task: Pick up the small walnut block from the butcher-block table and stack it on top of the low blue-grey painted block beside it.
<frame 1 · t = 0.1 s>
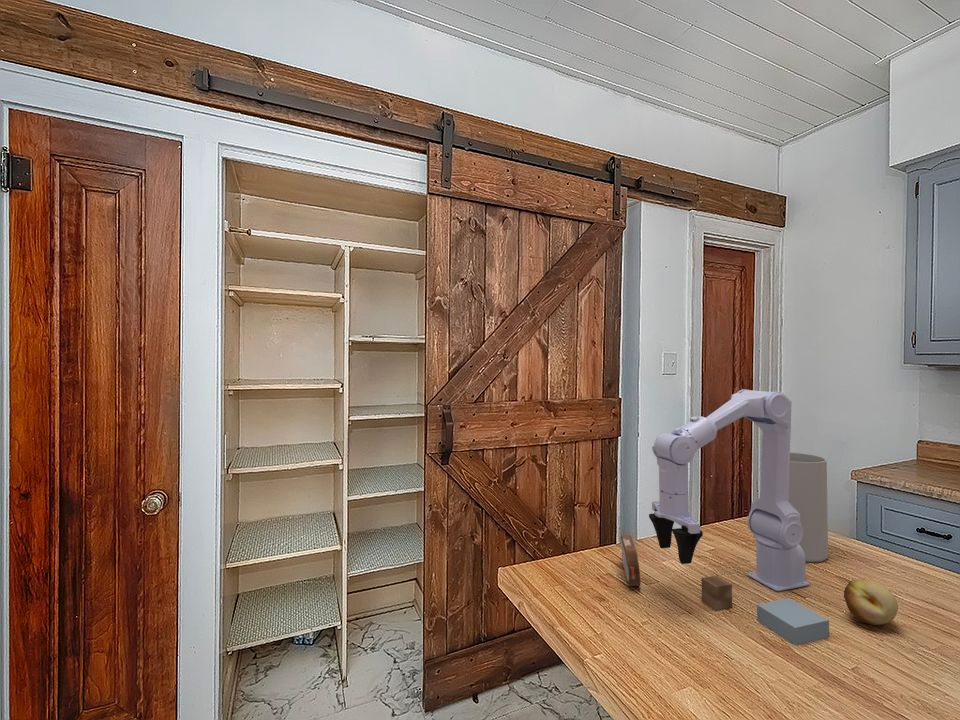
hand: (674, 554, 96), 10 cm above the countertop, tool pointing down, fingers open, 7 cm apart
walnut block: (716, 604, 95), on the countertop
fruit: (871, 623, 87), on the countertop
tin: (630, 577, 107), on the countertop
base block: (792, 630, 86), on the countertop
cylinder vase: (798, 553, 119), on the countertop
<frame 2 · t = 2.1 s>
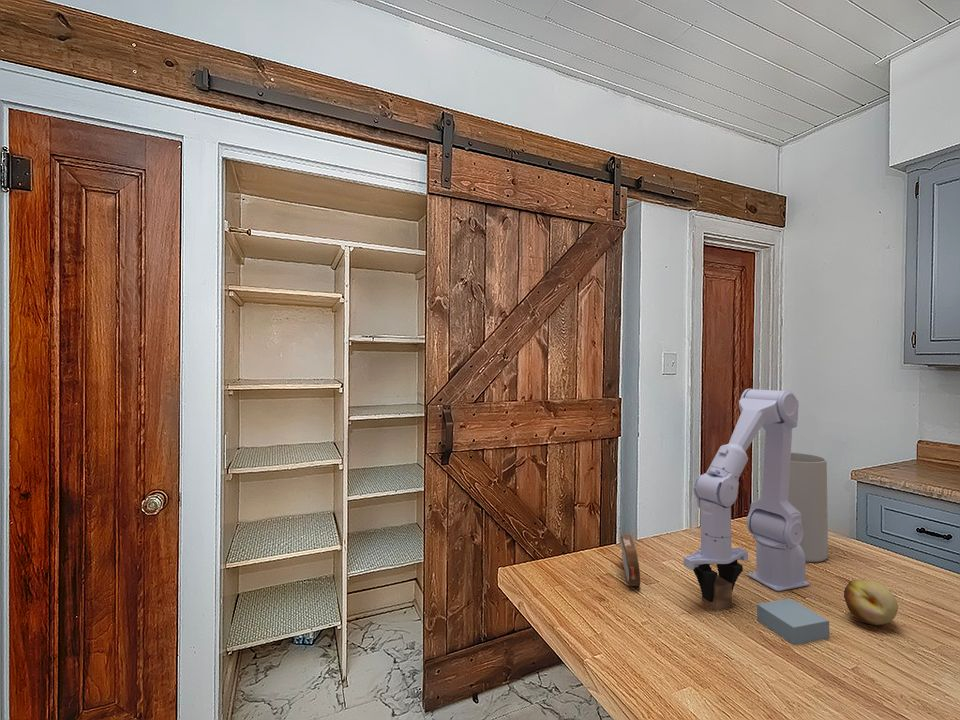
hand: (716, 597, 95), 1 cm above the countertop, tool pointing down, fingers closed on walnut block, 4 cm apart
walnut block: (716, 604, 95), on the countertop, touching gripper
everything else where it was.
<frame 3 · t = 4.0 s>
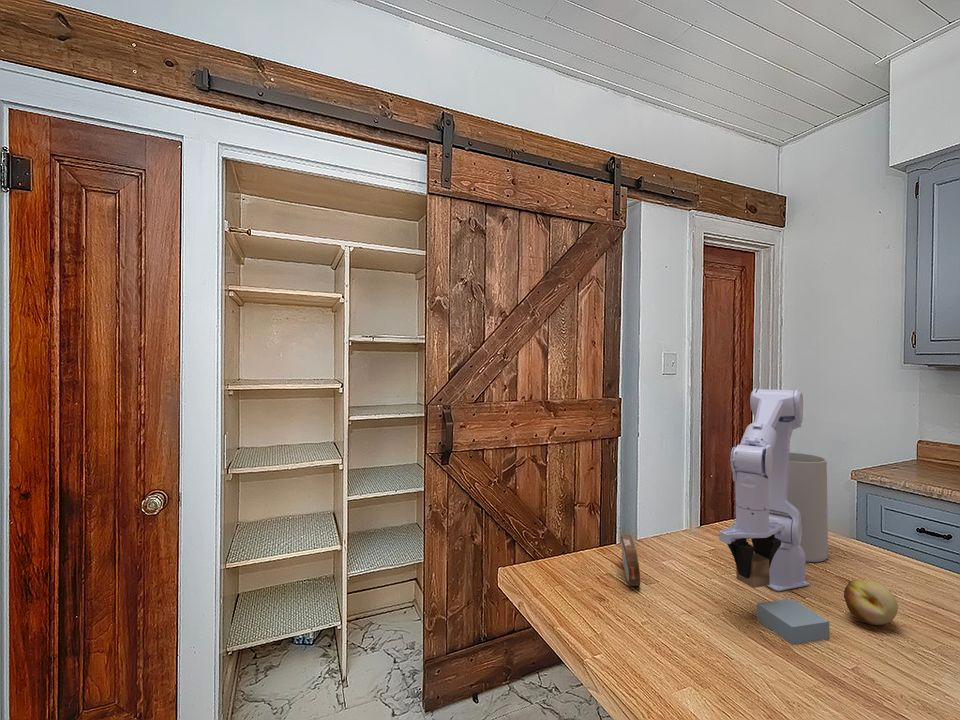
hand: (753, 574, 90), 8 cm above the countertop, tool pointing down, fingers closed on walnut block, 4 cm apart
walnut block: (752, 581, 90), point 7 cm above the countertop, touching gripper
everything else where it was.
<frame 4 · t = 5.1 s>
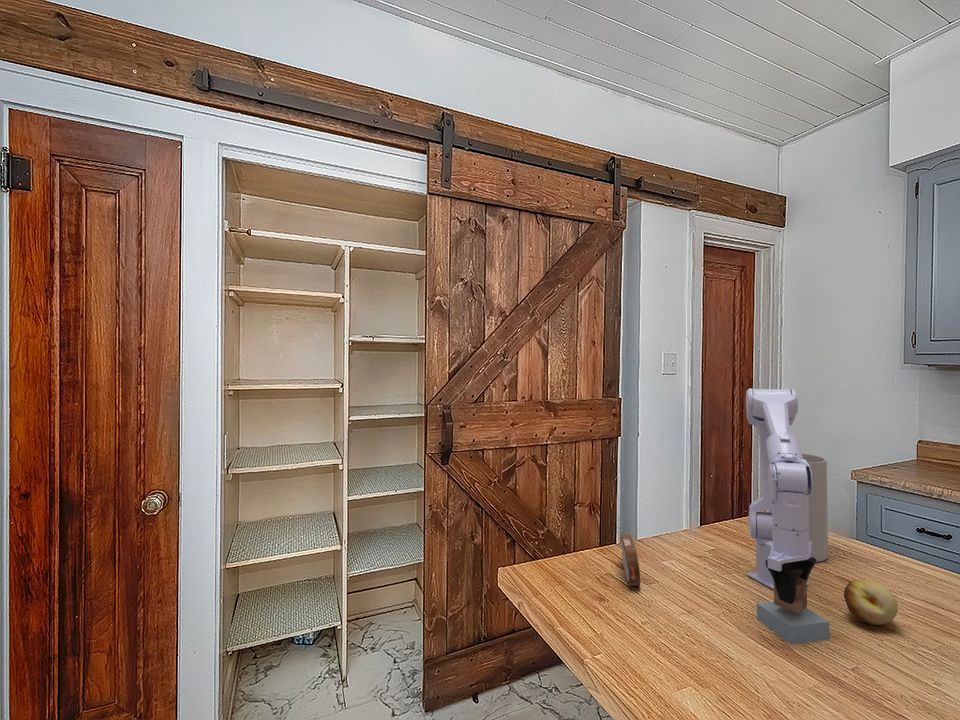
hand: (791, 597, 86), 6 cm above the countertop, tool pointing down, fingers closed on walnut block, 4 cm apart
walnut block: (790, 605, 86), point 4 cm above the countertop, touching gripper
everything else where it was.
when the fingers open (6 cm above the countertop, at t = 5.8 s): walnut block drops 1 cm, resting on base block.
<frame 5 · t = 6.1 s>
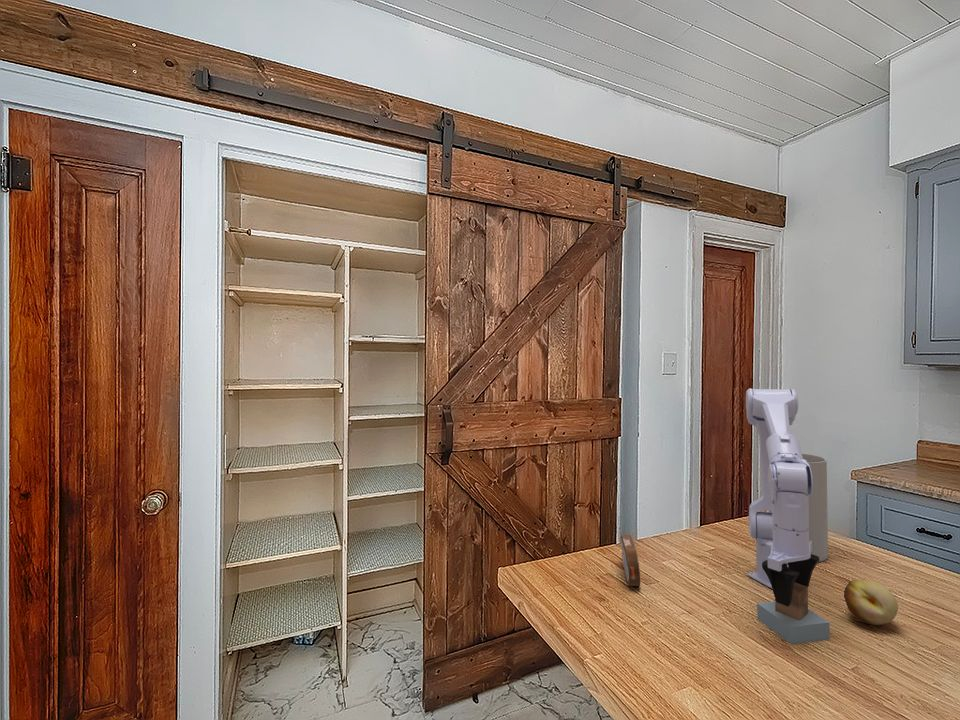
hand: (791, 597, 86), 6 cm above the countertop, tool pointing down, fingers open, 7 cm apart
walnut block: (791, 612, 86), point 3 cm above the countertop, touching base block
base block: (792, 630, 86), on the countertop, touching walnut block
everything else where it was.
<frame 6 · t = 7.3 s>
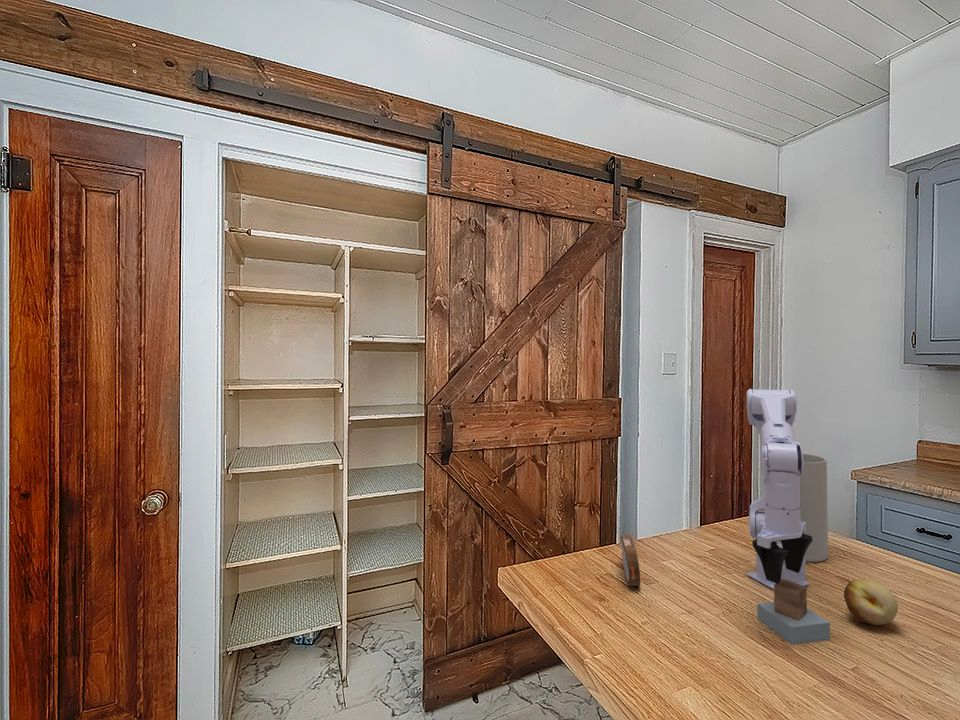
hand: (783, 575, 87), 9 cm above the countertop, tool pointing down, fingers open, 7 cm apart
walnut block: (790, 612, 86), point 3 cm above the countertop
base block: (792, 631, 86), on the countertop
everything else where it was.
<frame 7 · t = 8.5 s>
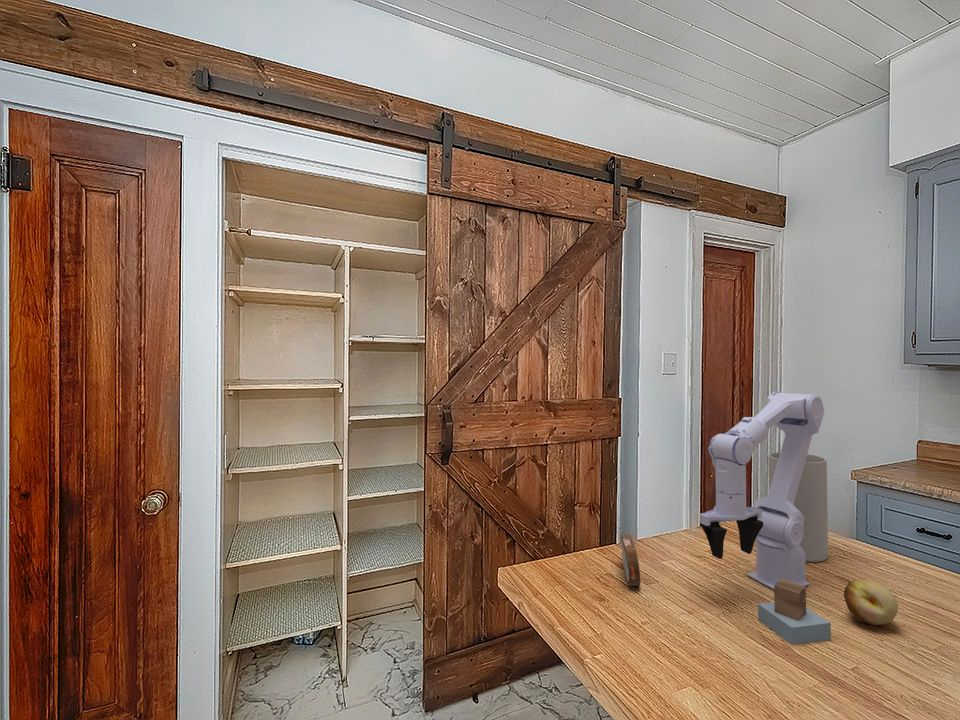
hand: (731, 554, 97), 9 cm above the countertop, tool pointing down, fingers open, 7 cm apart
nothing on the countertop moved.
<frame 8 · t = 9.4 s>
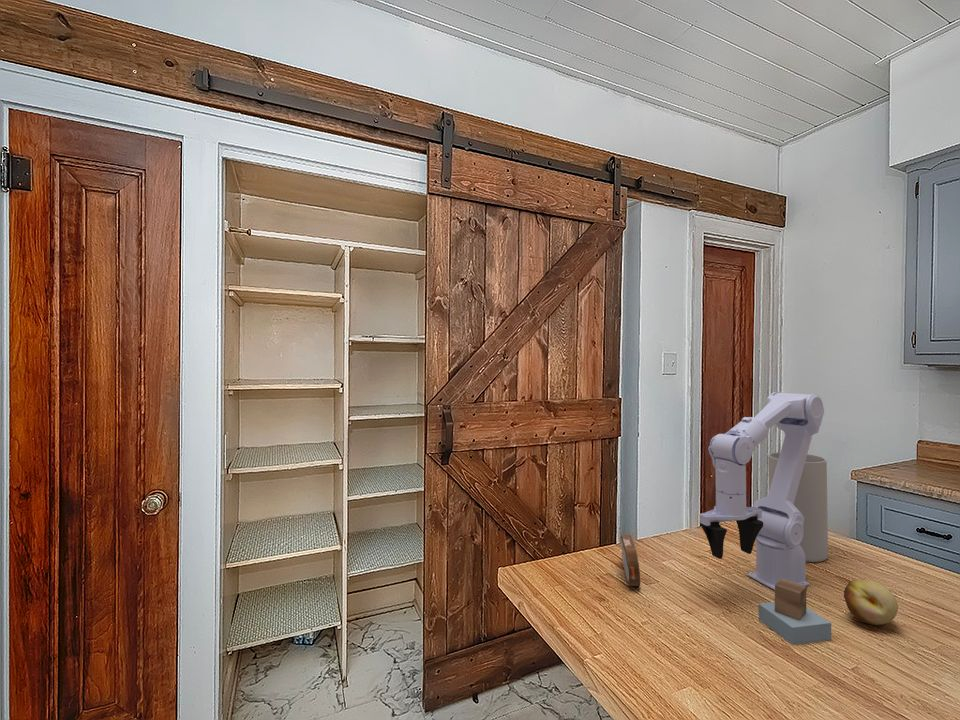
hand: (731, 554, 97), 9 cm above the countertop, tool pointing down, fingers open, 7 cm apart
walnut block: (790, 611, 86), point 3 cm above the countertop, touching base block
base block: (793, 631, 86), on the countertop, touching walnut block
everything else where it was.
at the end: walnut block 0.5 cm off-centre on the base block, point 3.5 cm above the base block's base; walnut block tilted 0°; the gripper is holding nothing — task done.
